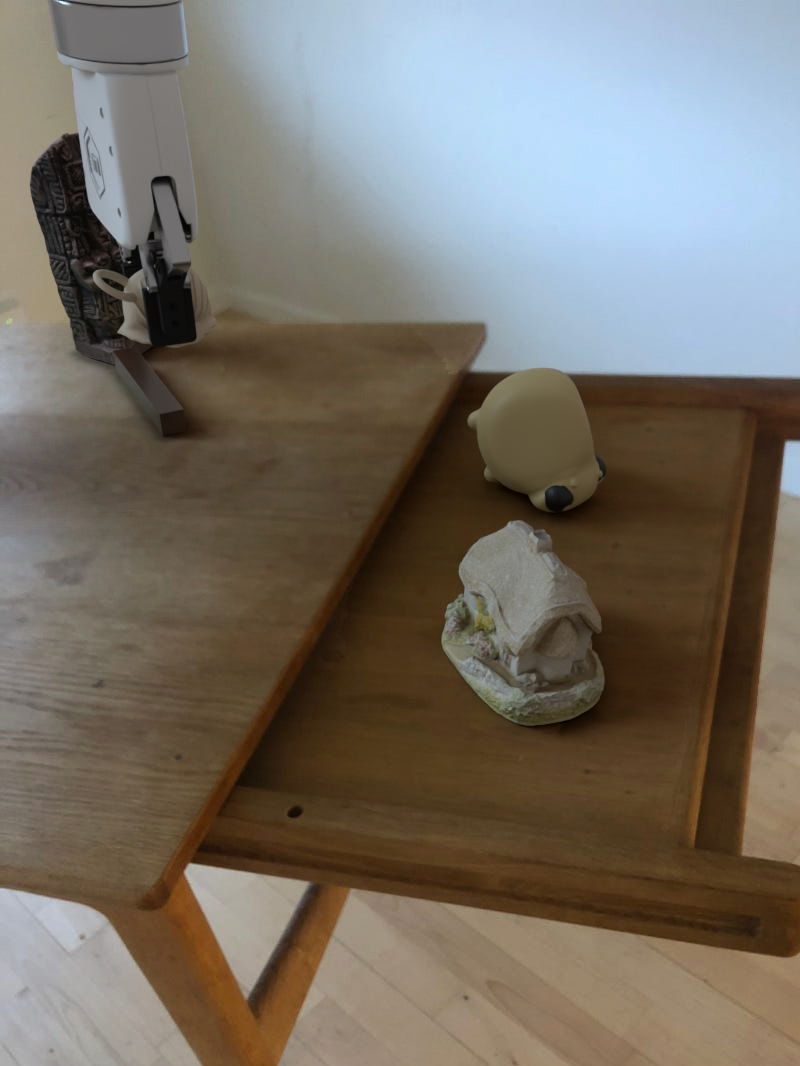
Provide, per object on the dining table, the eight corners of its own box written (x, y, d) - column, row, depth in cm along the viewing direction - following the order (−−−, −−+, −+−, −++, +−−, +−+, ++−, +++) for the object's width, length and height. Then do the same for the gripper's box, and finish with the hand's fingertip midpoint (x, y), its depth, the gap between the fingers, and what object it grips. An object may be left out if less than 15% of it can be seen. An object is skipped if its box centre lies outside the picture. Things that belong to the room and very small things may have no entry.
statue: (122, 369, 94) (81, 148, 81) (62, 353, 96) (12, 134, 83) (163, 343, 99) (131, 131, 86) (105, 329, 101) (64, 118, 88)
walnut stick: (163, 436, 85) (159, 414, 84) (116, 372, 94) (112, 350, 92) (187, 431, 86) (184, 409, 85) (138, 368, 95) (135, 346, 93)
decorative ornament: (228, 339, 70) (221, 265, 66) (111, 357, 66) (97, 280, 63) (209, 318, 72) (201, 246, 69) (96, 334, 69) (81, 259, 65)
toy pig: (497, 543, 83) (579, 514, 74) (433, 416, 80) (509, 371, 72) (568, 499, 88) (652, 466, 80) (510, 379, 86) (589, 333, 77)
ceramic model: (418, 606, 70) (422, 489, 63) (557, 581, 73) (575, 467, 67) (489, 742, 60) (502, 620, 53) (645, 705, 63) (676, 586, 57)
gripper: (23, 7, 60) (80, 294, 72) (92, 65, 50) (145, 389, 62) (143, 7, 64) (178, 281, 76) (231, 62, 53) (256, 369, 65)
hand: (163, 327), depth 69 cm, fingers closed on decorative ornament, 4 cm apart
